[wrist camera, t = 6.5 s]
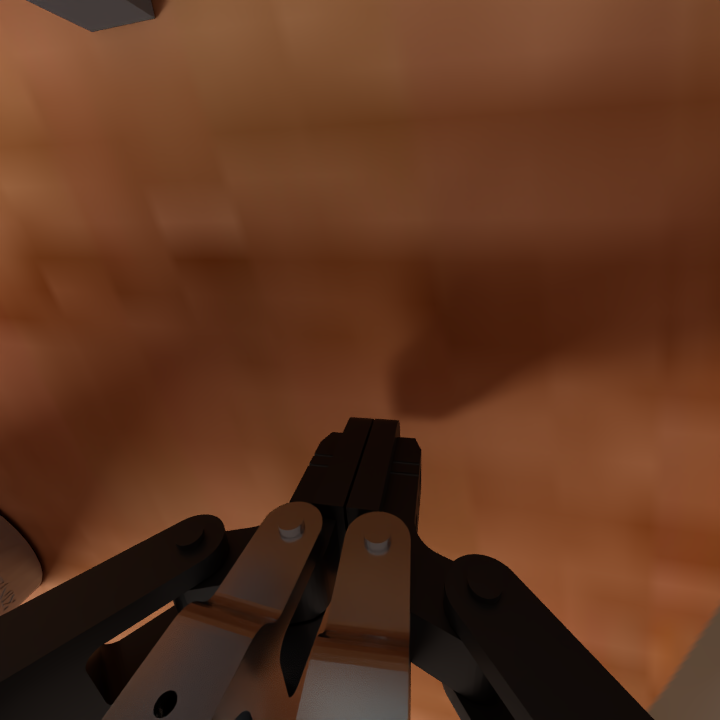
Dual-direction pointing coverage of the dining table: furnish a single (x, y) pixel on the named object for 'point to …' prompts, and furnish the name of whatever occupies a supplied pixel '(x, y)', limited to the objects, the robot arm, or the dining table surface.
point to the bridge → (99, 12)
